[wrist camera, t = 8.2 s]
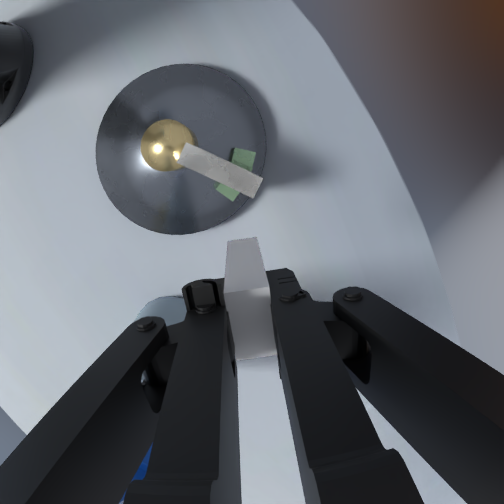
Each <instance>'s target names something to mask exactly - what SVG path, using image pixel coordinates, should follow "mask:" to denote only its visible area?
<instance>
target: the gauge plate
mask: <svg viewBox="0 0 504 504" xmlns="http://www.w3.org/2000/svg"><path fill="white" fill-rule="evenodd" d="M164 119H171V120H175V121H178V122H180V123H182V124H183V125H185V126H186V127H188V128H189V129H191V130H192V131H193V133H194V134H195V135H196V138H197V140H198V147H199V148H201V149H204V150H206V151H208V152H210V153H212V154H214V155H217V156H219V157H221V158H223V159H225V160H227V161H229V162H232V163H234V164H236V165H238V166H240V167H242V168H244V169H246V170H248V171H250V172H252V173H254V174H256V175H259V176H261V173H262V169H263V166H264V161H265V154H266V138H265V130H264V126H263V122H262V118H261V116H260V113H259V111H258V109H257V107H256V105H255V103H254V102H253V100H252V98H251V97H250V96H249V95H248V93H247V92H246V91H245V90H244V89H243V88H242V87H241V86H240V85H239V84H238V83H237V82H236V81H234V80H233V79H231V78H230V77H228V76H227V75H225V74H223V73H221V72H219V71H217V70H214V69H212V68H209V67H205V66H200V65H194V64H175V65H169V66H164V67H160V68H157V69H154V70H151V71H149V72H147V73H145V74H143V75H141V76H140V77H138V78H137V79H135V80H133V81H132V82H131V83H130V84H128V85H127V86H126V87H125V88H124V89H123V90H122V91H121V92H120V93H119V94H118V95H117V96H116V97H115V99H114V100H113V102H112V103H111V104H110V106H109V107H108V109H107V111H106V113H105V115H104V117H103V120H102V122H101V125H100V128H99V132H98V136H97V142H96V164H97V170H98V174H99V178H100V181H101V183H102V186H103V188H104V190H105V192H106V194H107V196H108V197H109V199H110V200H111V202H112V203H113V204H114V206H115V207H116V208H117V209H118V210H119V211H120V212H121V213H122V214H123V215H124V216H126V217H127V218H128V219H129V220H131V221H132V222H134V223H136V224H137V225H139V226H141V227H143V228H146V229H148V230H151V231H154V232H158V233H163V234H171V235H183V234H191V233H196V232H200V231H204V230H206V229H209V228H211V227H214V226H216V225H218V224H219V223H221V222H223V221H225V220H226V219H227V218H229V217H230V216H232V215H233V214H234V213H235V212H236V211H237V210H238V209H239V208H240V207H241V206H242V205H243V204H244V203H245V202H246V200H247V199H248V198H249V196H247V195H245V194H243V193H240V192H238V191H236V190H234V189H232V188H230V187H228V186H226V185H224V184H222V183H219V182H217V181H215V180H213V179H211V178H209V177H207V176H204V175H202V174H200V173H198V172H196V171H194V170H191V169H189V168H187V167H186V168H183V169H180V170H174V171H165V172H164V171H158V170H155V169H153V168H151V167H150V166H149V165H148V164H147V163H146V162H145V160H144V159H143V157H142V154H141V140H142V137H143V135H144V133H145V131H146V130H147V129H148V128H149V127H150V126H151V125H152V124H154V123H155V122H157V121H160V120H164Z"/></svg>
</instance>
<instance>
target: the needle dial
mask: <svg viewBox="0 0 504 504" xmlns="http://www.w3.org/2000/svg"><path fill="white" fill-rule="evenodd" d="M141 154H142V157H143V159H144V160H145V162H146V163H147V164H148V165H149V166H150V167H151V168H153V169H155V170H158V171H164V172H165V171H174V170H180V169H183V168H186V167H187V168H189V169H191V170H194V171H196V172H198V173H200V174H202V175H204V176H207V177H209V178H211V179H213V180H215V181H217V182H219V183H222V184H224V185H226V186H228V187H230V188H232V189H234V190H236V191H238V192H240V193H243V194H245V195H247V196H249V197H251V198H254V196H255V194H256V192H257V190H258V188H259V186H260V184H261V182H262V180H263V178H262V177H260V176H259V175H256V174H254V173H252V172H250V171H248V170H246V169H244V168H242V167H240V166H238V165H236V164H234V163H232V162H229V161H227V160H225V159H223V158H221V157H219V156H217V155H214V154H212V153H210V152H208V151H206V150H204V149H201V148H199V147H198V140H197V138H196V135H195V134H194V133H193V131H192V130H191V129H189V128H188V127H186V126H185V125H183V124H182V123H180V122H178V121H175V120H171V119H164V120H160V121H157V122H155V123H154V124H152V125H151V126H150V127H149V128H148V129H147V130H146V131H145V133H144V135H143V137H142V140H141Z"/></svg>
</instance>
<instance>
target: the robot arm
mask: <svg viewBox="0 0 504 504" xmlns="http://www.w3.org/2000/svg"><path fill="white" fill-rule="evenodd" d="M32 62H33V46H32V41H31V38H30V36H29V34H28V33H27V31H26V30H24V29H23V28H21V27H19V26H17V25H15V24H13V23H11V22H0V125H1V124H2V123H3V122H4V121H5V120H6V119H7V118H8V117H9V116H10V114H11V113H12V112H13V110H14V109H15V107H16V106H17V104H18V102H19V100H20V99H21V97H22V95H23V93H24V90H25V88H26V85H27V83H28V80H29V76H30V72H31V68H32ZM182 293H183V297H184V302H185V306H186V310H187V312H186V316H185V319H184V321H182V322H179V323H176V324H173V325H169V326H166V323H165V320H164V319H163V318H161V317H157V316H151V317H150V316H146V317H145V318H144V317H142V318H140V319H139V320H137V321H134V322H133V323H132V324H130V325H129V326H128V327H127V328H126V329H125V330H124V332H123V333H122V334H121V335H120V336H119V337H118V338H117V339H116V340H115V341H114V342H113V343H112V344H111V345H110V346H109V347H108V348H107V349H106V350H105V351H104V352H103V353H102V354H101V355H100V357H99V358H98V359H97V360H96V361H95V362H94V363H93V364H92V365H91V366H90V367H89V368H88V369H87V370H86V371H85V372H84V373H83V375H82V376H81V377H80V378H79V379H78V380H77V381H76V382H75V383H74V384H73V385H72V386H71V387H70V389H69V390H68V391H67V392H66V393H65V394H64V395H63V396H62V397H61V398H60V399H59V400H58V402H57V403H56V404H55V405H54V406H53V407H52V408H51V409H50V410H49V411H48V413H47V414H46V415H45V416H44V417H43V418H42V419H41V420H40V421H39V423H38V424H37V425H36V426H35V427H34V428H33V429H32V430H31V432H30V433H29V434H28V435H27V436H26V437H25V438H24V440H23V441H22V442H21V443H20V444H19V445H18V446H17V448H16V449H15V450H14V451H13V452H12V453H11V454H10V456H9V457H8V458H7V459H6V460H5V461H4V463H3V464H2V465H1V466H0V504H119V502H120V501H121V499H122V497H123V495H124V493H125V492H126V493H125V497H124V502H123V504H242V500H241V476H240V449H239V418H238V382H237V365H236V361H238V360H246V359H253V358H261V357H268V356H274V355H277V357H278V365H279V374H280V379H282V384H283V389H284V394H285V400H286V405H287V410H288V415H289V420H290V425H291V430H292V435H293V440H294V445H295V450H296V456H297V461H298V466H299V471H300V476H301V481H302V486H303V492H304V497H305V502H306V504H424V502H423V500H422V498H421V496H420V494H419V491H418V489H417V487H416V485H415V483H414V481H413V479H412V477H411V475H410V472H409V470H408V468H407V466H406V464H405V462H404V460H403V458H402V457H401V455H400V454H399V452H398V451H396V450H395V449H394V448H392V449H389V450H386V449H385V448H384V447H383V445H382V443H381V441H380V439H379V437H378V435H377V432H376V430H375V428H374V426H373V424H372V422H371V419H370V417H369V415H368V413H367V411H366V409H365V407H364V404H363V402H362V400H361V398H360V396H359V394H358V392H357V390H356V388H357V389H358V390H359V391H360V392H361V394H362V395H363V396H364V397H365V398H366V399H367V400H368V401H369V402H370V403H371V404H372V405H373V406H374V407H375V408H376V409H377V410H378V412H379V413H380V414H381V415H382V416H383V417H384V418H385V419H386V420H387V421H388V422H389V423H390V424H391V425H392V426H393V427H394V428H395V429H396V431H397V432H398V433H399V434H400V435H401V436H402V437H403V438H404V439H405V440H406V441H407V442H408V443H409V444H410V445H411V446H412V447H413V448H414V449H415V450H416V451H417V452H418V453H419V455H420V456H421V457H422V458H423V459H424V460H425V461H426V462H427V463H428V464H429V465H430V466H431V467H432V468H433V469H434V470H435V471H436V472H437V473H438V474H439V475H440V476H441V477H442V478H443V479H444V480H445V481H446V482H447V483H448V484H449V485H450V486H451V488H452V489H453V490H454V491H455V492H456V493H457V494H458V495H459V496H460V497H461V498H462V499H463V500H464V501H465V502H466V503H467V504H504V375H503V374H501V373H500V372H498V371H497V370H495V369H494V368H492V367H490V366H489V365H488V364H486V363H484V362H483V361H481V360H480V359H478V358H477V357H475V356H474V355H472V354H470V353H469V352H467V351H466V350H464V349H463V348H461V347H460V346H458V345H456V344H455V343H453V342H452V341H450V340H449V339H447V338H445V337H444V336H442V335H441V334H439V333H437V332H436V331H434V330H433V329H431V328H429V327H428V326H426V325H425V324H423V323H421V322H420V321H418V320H417V319H415V318H413V317H412V316H410V315H408V314H407V313H405V312H404V311H402V310H400V309H399V308H397V307H395V306H394V305H392V304H391V303H389V302H387V301H386V300H384V299H382V298H381V297H379V296H377V295H376V294H374V293H372V292H371V291H369V290H367V289H364V288H358V287H347V288H344V289H341V290H339V291H337V292H335V293H334V295H333V302H318V301H313V300H312V298H311V296H310V294H309V293H308V292H307V291H305V290H302V289H301V287H300V285H299V283H298V281H297V279H296V277H295V275H294V273H293V271H291V270H289V269H287V268H284V269H277V270H270V271H265V268H264V264H263V260H262V256H261V252H260V248H259V244H258V240H257V237H253V238H246V239H239V240H232V241H228V244H227V256H226V268H225V278H220V279H201V280H197V281H193V282H191V283H188V284H187V285H185V286H184V287H183V288H182ZM235 356H236V360H235ZM142 374H143V376H144V378H145V379H144V380H143V382H142V383H141V378H142ZM355 387H356V388H355ZM152 443H153V445H152ZM151 445H152V449H151V454H150V458H149V462H148V467H147V472H146V475H145V477H144V478H143V479H142V480H133V481H132V479H133V477H134V475H135V474H136V472H137V470H138V468H139V466H140V465H141V463H142V461H143V459H144V457H145V456H146V454H147V452H148V450H149V448H150V447H151ZM131 481H132V482H131Z"/></svg>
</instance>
